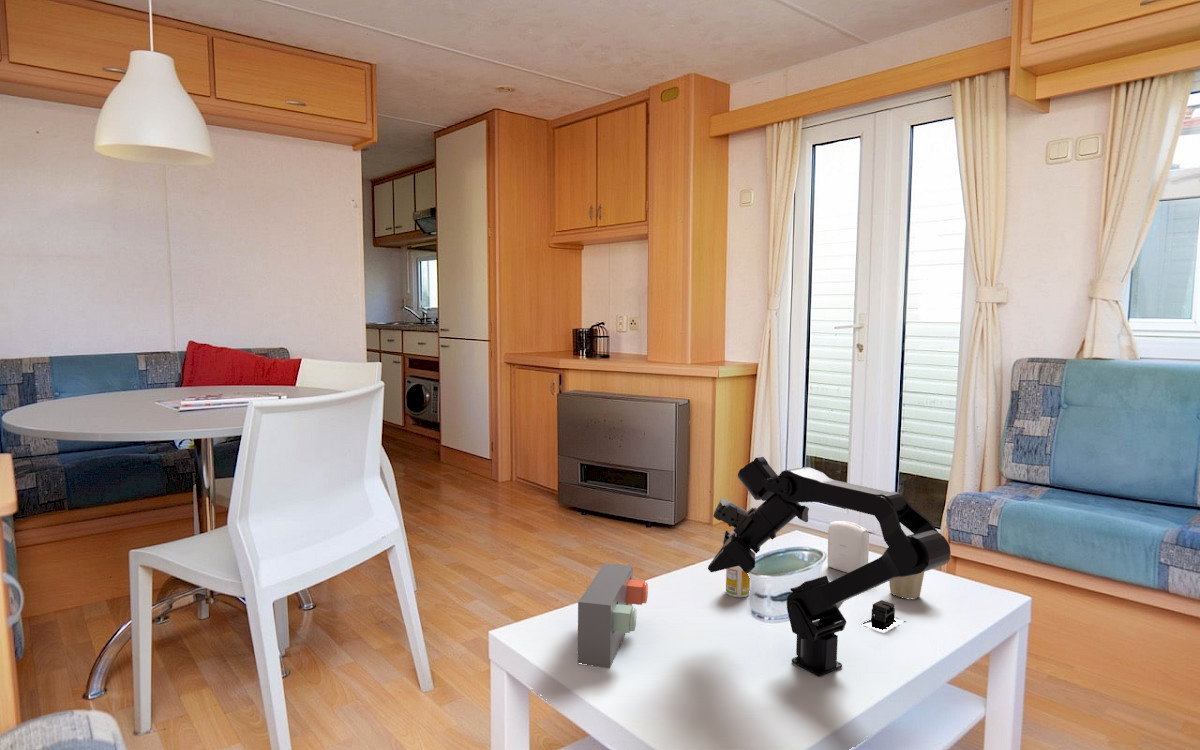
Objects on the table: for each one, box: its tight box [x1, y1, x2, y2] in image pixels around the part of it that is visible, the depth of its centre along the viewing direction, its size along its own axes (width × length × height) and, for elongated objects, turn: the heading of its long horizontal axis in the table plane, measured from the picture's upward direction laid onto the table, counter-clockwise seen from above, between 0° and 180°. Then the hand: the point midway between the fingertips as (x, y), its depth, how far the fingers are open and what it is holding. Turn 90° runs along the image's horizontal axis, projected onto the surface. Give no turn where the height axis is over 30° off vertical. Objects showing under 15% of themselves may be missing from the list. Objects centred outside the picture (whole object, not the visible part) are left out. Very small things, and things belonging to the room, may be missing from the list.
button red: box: [626, 579, 649, 606], centre depth 140 cm, size 5×4×4 cm
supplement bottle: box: [725, 566, 751, 598], centre depth 159 cm, size 5×5×10 cm
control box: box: [577, 562, 634, 669], centre depth 135 cm, size 6×21×12 cm, turn 167°
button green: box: [613, 604, 638, 634], centre depth 128 cm, size 5×4×4 cm
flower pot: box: [888, 572, 925, 599], centre depth 160 cm, size 9×9×9 cm
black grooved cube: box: [860, 599, 896, 630], centre depth 145 cm, size 12×7×5 cm, turn 131°
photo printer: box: [827, 520, 870, 574], centre depth 175 cm, size 10×4×12 cm, turn 37°
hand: (709, 569), depth 136 cm, fingers closed
